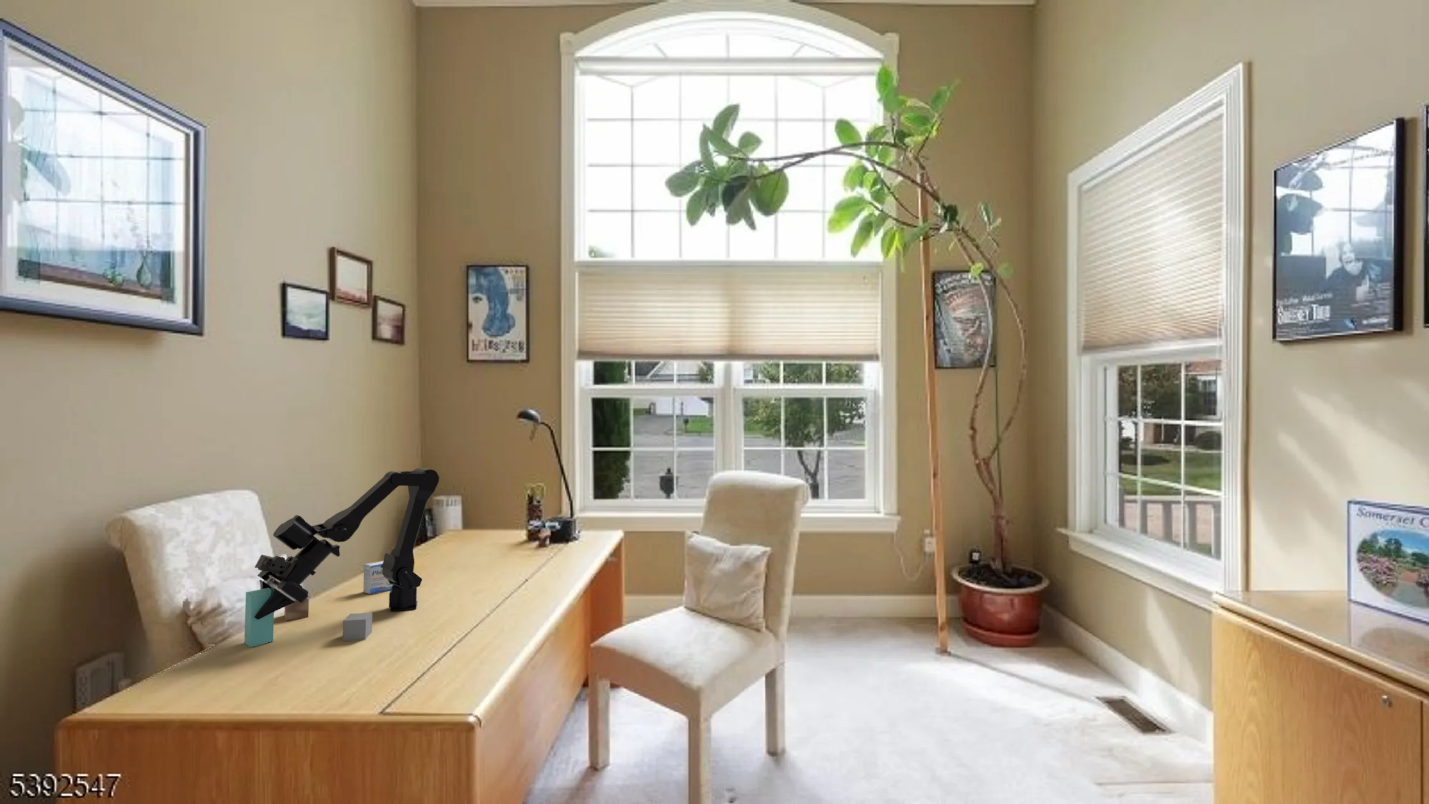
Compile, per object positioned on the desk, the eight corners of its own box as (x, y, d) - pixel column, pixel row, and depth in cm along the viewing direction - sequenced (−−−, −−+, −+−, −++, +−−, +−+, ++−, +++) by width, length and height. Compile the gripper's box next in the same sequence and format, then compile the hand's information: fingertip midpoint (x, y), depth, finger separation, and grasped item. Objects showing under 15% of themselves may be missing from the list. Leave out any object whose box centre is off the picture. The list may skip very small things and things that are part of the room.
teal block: (267, 637, 149) (268, 587, 149) (273, 641, 146) (274, 591, 146) (244, 642, 145) (245, 592, 145) (250, 647, 142) (251, 595, 142)
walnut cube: (306, 612, 167) (307, 593, 167) (308, 617, 163) (308, 598, 163) (284, 615, 164) (284, 597, 164) (285, 621, 160) (286, 601, 160)
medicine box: (369, 595, 183) (370, 566, 183) (362, 592, 185) (363, 563, 185) (396, 589, 189) (396, 561, 189) (389, 586, 192) (390, 558, 192)
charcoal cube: (371, 632, 153) (372, 612, 153) (365, 639, 148) (365, 619, 148) (349, 633, 152) (350, 613, 152) (342, 641, 147) (343, 620, 147)
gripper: (268, 536, 155) (212, 589, 146) (294, 547, 143) (234, 606, 134) (303, 561, 161) (251, 614, 152) (330, 574, 149) (276, 632, 140)
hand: (252, 615), depth 144 cm, fingers open, 5 cm apart
